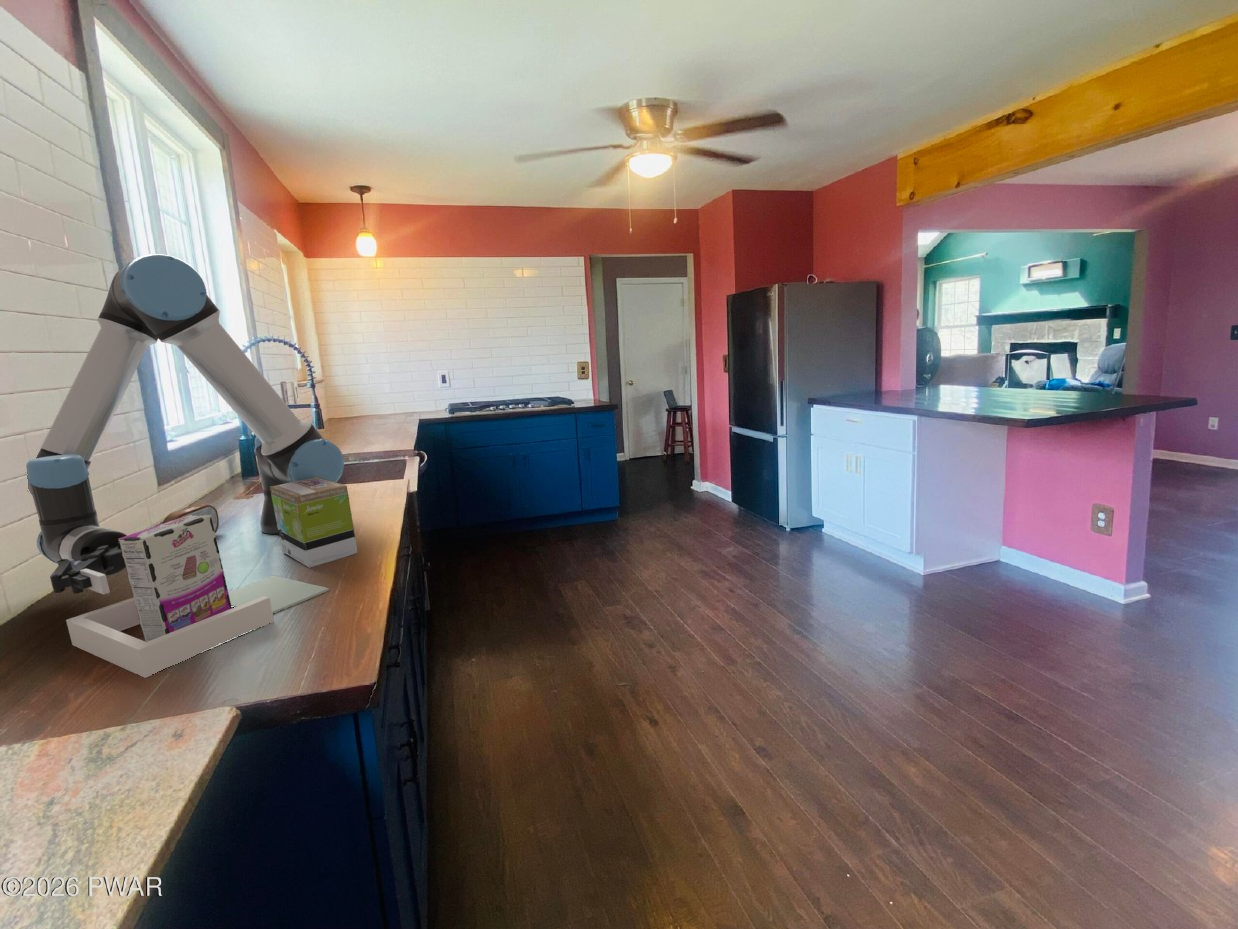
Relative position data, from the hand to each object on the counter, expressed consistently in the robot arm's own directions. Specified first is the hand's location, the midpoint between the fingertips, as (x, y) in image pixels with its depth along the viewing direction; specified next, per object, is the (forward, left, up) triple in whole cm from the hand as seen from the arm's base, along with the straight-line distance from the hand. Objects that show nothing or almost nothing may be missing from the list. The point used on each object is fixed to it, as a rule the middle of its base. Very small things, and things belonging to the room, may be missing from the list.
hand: (159, 567), depth 90 cm
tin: (-25, -45, -10) cm, 52 cm away
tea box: (-31, -9, -10) cm, 34 cm away
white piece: (+1, +3, -10) cm, 10 cm away
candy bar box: (-1, +3, -10) cm, 10 cm away
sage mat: (-13, +3, -10) cm, 17 cm away
